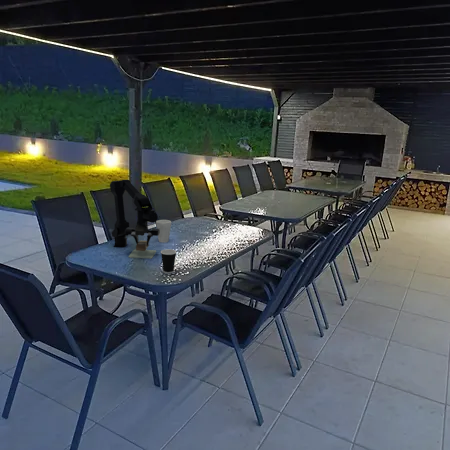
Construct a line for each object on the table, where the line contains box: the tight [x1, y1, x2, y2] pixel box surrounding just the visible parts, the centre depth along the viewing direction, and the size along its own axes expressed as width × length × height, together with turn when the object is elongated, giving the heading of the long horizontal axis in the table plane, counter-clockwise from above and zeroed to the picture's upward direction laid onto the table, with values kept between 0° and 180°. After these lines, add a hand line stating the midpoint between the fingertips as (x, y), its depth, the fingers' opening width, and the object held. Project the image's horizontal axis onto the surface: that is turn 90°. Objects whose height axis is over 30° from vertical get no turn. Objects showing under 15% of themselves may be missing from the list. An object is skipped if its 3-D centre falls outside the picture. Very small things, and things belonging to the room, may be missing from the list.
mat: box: [128, 248, 157, 260], centre depth 227 cm, size 13×13×1 cm
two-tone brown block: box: [135, 239, 150, 251], centre depth 226 cm, size 10×5×3 cm, turn 179°
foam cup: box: [155, 219, 172, 244], centre depth 254 cm, size 10×9×13 cm
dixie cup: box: [160, 248, 177, 275], centre depth 200 cm, size 8×8×11 cm
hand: (142, 246), depth 226 cm, fingers closed on two-tone brown block, 5 cm apart
